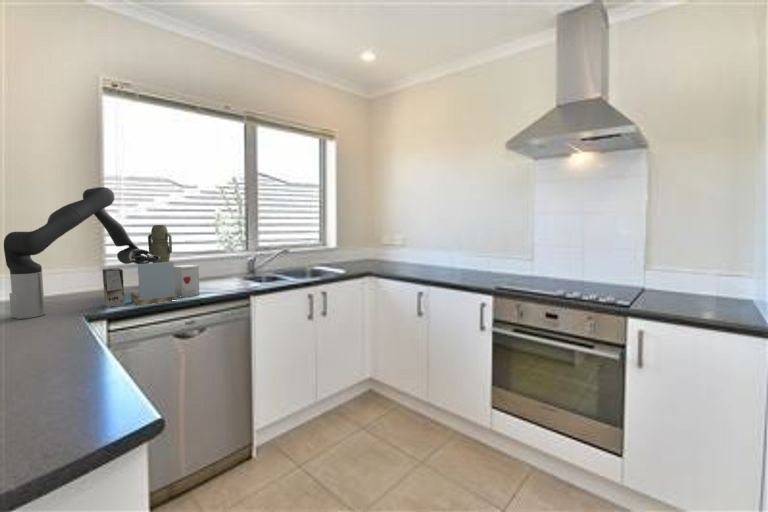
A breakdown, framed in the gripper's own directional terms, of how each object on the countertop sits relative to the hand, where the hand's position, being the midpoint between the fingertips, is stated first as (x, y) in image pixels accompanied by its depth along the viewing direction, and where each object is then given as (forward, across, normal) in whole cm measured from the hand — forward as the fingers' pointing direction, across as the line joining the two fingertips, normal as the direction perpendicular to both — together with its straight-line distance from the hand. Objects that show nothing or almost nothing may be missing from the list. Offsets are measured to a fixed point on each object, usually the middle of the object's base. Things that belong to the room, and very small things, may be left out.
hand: (152, 259), depth 179 cm
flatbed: (-2, 0, +20) cm, 20 cm away
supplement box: (-6, +16, +20) cm, 27 cm away
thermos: (-30, +13, +20) cm, 39 cm away
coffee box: (-6, -15, +20) cm, 25 cm away
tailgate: (+4, 0, +17) cm, 18 cm away
